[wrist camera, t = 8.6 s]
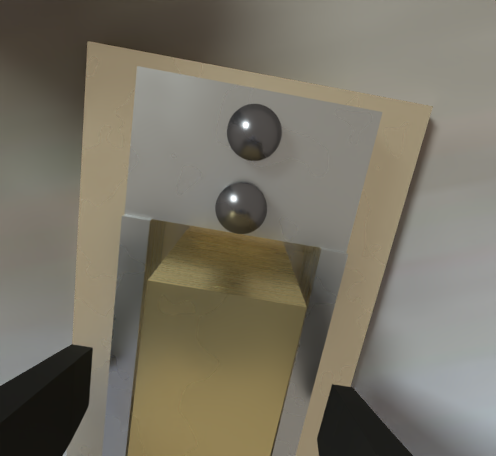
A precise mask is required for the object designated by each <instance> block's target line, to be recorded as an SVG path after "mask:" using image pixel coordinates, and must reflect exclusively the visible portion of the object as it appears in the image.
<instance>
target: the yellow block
mask: <svg viewBox="0 0 496 456" xmlns="http://www.w3.org/2000/svg"><path fill="white" fill-rule="evenodd" d="M306 308H307V306H306V304H305V301H304V298H303V295H302V293H301V290H300V287H299V285H298V282H297V279H296V276H295V274H294V271H293V268H292V265H291V263H290V260H289V257H288V255H287V252H286V249H285V247H284V246H278V245H272V244H266V243H261V242H255V241H249V240H244V239H238V238H232V237H227V236H221V235H215V234H209V233H204V232H198V231H192V230H186V231H185V233H184V234H183V235H182V236H181V238H180V239H179V240H178V242H177V243H176V244H175V246H174V247H173V248H172V249H171V251H170V252H169V253H168V255H167V256H166V257H165V259H164V260H163V261H162V262H161V264H160V265H159V266H158V268H157V269H156V270H155V271H154V273H153V274H152V275H151V277H150V278H149V279H148V282H147V290H146V299H145V308H144V316H143V325H142V334H141V342H140V351H139V360H138V369H137V377H136V386H135V395H134V403H133V412H132V421H131V429H130V438H129V447H128V456H270V454H271V450H272V446H273V442H274V438H275V434H276V430H277V426H278V422H279V418H280V414H281V410H282V406H283V402H284V398H285V393H286V389H287V385H288V381H289V377H290V373H291V369H292V365H293V361H294V357H295V353H296V349H297V345H298V341H299V337H300V333H301V329H302V325H303V321H304V316H305V312H306Z"/></svg>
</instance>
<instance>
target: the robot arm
mask: <svg viewBox="0 0 496 456" xmlns="http://www.w3.org/2000/svg"><path fill="white" fill-rule="evenodd" d="M92 353H93V348H92V347H86V346H79V345H73V344H72V345H70V346H68V347H66V348H65V349H63V350H61V351H59V352H58V353H56V354H54V355H53V356H51V357H49V358H48V359H46V360H44V361H43V362H41V363H39V364H37V365H36V366H34V367H32V368H31V369H29V370H27V371H25V372H24V373H22V374H20V375H19V376H17V377H15V378H13V379H12V380H10V381H8V382H6V383H5V384H3V385H1V386H0V456H62V455H63V454H64V452H65V451H66V449H67V447H68V446H69V444H70V443H71V441H72V439H73V437H74V435H75V433H76V431H77V429H78V427H79V425H80V423H81V421H82V419H83V417H84V415H85V413H86V411H87V409H88V406H89V398H90V383H91V368H92ZM317 444H318V452H319V456H413V455H412V454H411V453H410V452H409V451H408V450H407V449H406V448H405V447H404V446H403V444H402V443H401V442H400V441H399V440H398V439H397V438H396V437H395V436H394V434H393V433H392V432H391V431H390V430H389V429H388V428H387V426H386V425H385V424H384V423H383V422H382V421H381V420H380V418H379V417H378V416H377V415H376V414H375V413H374V412H373V410H372V409H371V408H370V407H369V406H368V405H367V403H366V402H365V401H364V400H363V399H362V398H361V397H360V396H359V394H358V393H357V392H356V391H355V390H354V389H353V388H352V387H348V386H341V385H334V384H332V386H331V390H330V393H329V397H328V401H327V404H326V408H325V411H324V415H323V419H322V422H321V426H320V429H319V433H318V437H317Z"/></svg>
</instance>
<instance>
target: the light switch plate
mask: <svg viewBox="0 0 496 456" xmlns="http://www.w3.org/2000/svg"><path fill="white" fill-rule="evenodd" d="M432 108H433V106H428V105H422V104H417V103H412V102H407V101H401V100H396V99H391V98H385V97H380V96H375V95H370V94H364V93H359V92H354V91H349V90H343V89H338V88H333V87H327V86H322V85H317V84H312V83H306V82H301V81H296V80H291V79H285V78H280V77H275V76H269V75H264V74H259V73H254V72H248V71H243V70H238V69H233V68H227V67H222V66H217V65H211V64H206V63H201V62H196V61H190V60H185V59H180V58H175V57H169V56H164V55H159V54H153V53H148V52H143V51H138V50H132V49H127V48H122V47H117V46H111V45H106V44H101V43H95V42H90V41H88V42H87V62H86V82H85V101H84V121H83V141H82V161H81V181H80V201H79V221H78V240H77V260H76V280H75V300H74V320H73V340H72V344H73V345H79V346H86V347H92V348H93V353H92V368H91V383H90V398H89V406H88V409H87V411H86V413H85V415H84V417H83V419H82V421H81V423H80V425H79V427H78V429H77V431H76V433H75V435H74V437H73V439H72V441H71V443H70V444H69V446H68V447H67V456H128V447H129V438H130V429H131V421H132V412H133V403H134V395H135V386H136V377H137V369H138V360H139V351H140V342H141V334H142V325H143V316H144V308H145V299H146V290H147V282H148V279H149V278H150V277H151V275H152V274H153V273H154V271H155V270H156V269H157V268H158V266H159V265H160V264H161V262H162V261H163V260H164V259H165V257H166V256H167V255H168V253H169V252H170V251H171V249H172V248H173V247H174V246H175V244H176V243H177V242H178V240H179V239H180V238H181V236H182V235H183V234H184V233H185V231H186V230H192V231H198V232H204V233H209V234H215V235H221V236H227V237H232V238H238V239H244V240H249V241H255V242H261V243H266V244H272V245H278V246H284V247H285V249H286V252H287V255H288V257H289V260H290V263H291V265H292V268H293V271H294V274H295V276H296V279H297V282H298V285H299V287H300V290H301V293H302V295H303V298H304V301H305V304H306V306H307V308H306V312H305V316H304V321H303V325H302V329H301V333H300V337H299V341H298V345H297V349H296V353H295V357H294V361H293V365H292V369H291V373H290V377H289V381H288V385H287V389H286V393H285V398H284V402H283V406H282V410H281V414H280V418H279V422H278V426H277V430H276V434H275V438H274V442H273V446H272V450H271V454H270V456H319V452H318V444H317V437H318V433H319V429H320V426H321V422H322V419H323V415H324V411H325V408H326V404H327V401H328V397H329V393H330V390H331V386H332V384H334V385H341V386H348V387H350V386H351V383H352V380H353V376H354V373H355V369H356V366H357V363H358V359H359V356H360V352H361V349H362V346H363V342H364V339H365V335H366V332H367V329H368V325H369V322H370V318H371V315H372V312H373V308H374V305H375V301H376V298H377V295H378V291H379V288H380V284H381V281H382V278H383V274H384V271H385V267H386V264H387V261H388V257H389V254H390V250H391V247H392V244H393V240H394V237H395V233H396V230H397V227H398V223H399V220H400V216H401V213H402V210H403V206H404V203H405V199H406V196H407V193H408V189H409V186H410V182H411V179H412V176H413V172H414V169H415V165H416V162H417V159H418V155H419V152H420V148H421V145H422V142H423V138H424V135H425V131H426V128H427V125H428V121H429V118H430V114H431V111H432Z"/></svg>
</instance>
